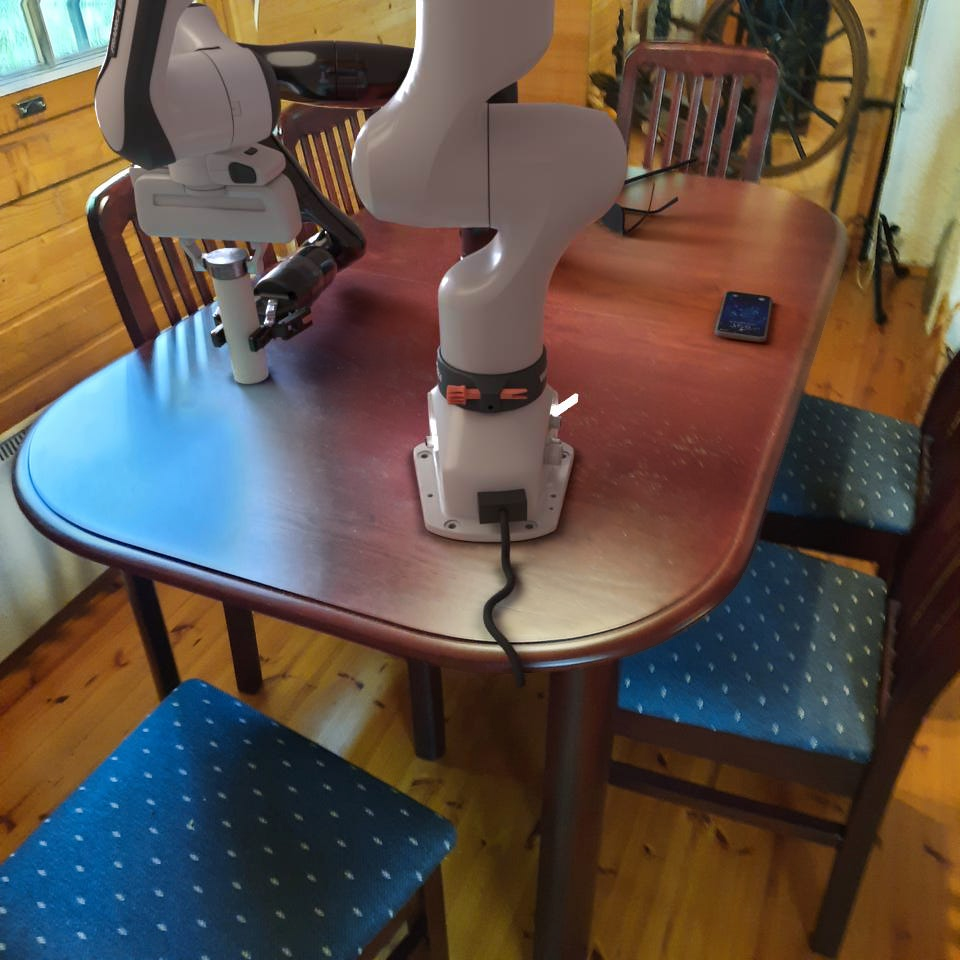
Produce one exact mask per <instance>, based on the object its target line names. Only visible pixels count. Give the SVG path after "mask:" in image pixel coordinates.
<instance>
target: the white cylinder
mask: <svg viewBox="0 0 960 960" xmlns="http://www.w3.org/2000/svg"><path fill="white" fill-rule="evenodd" d="M251 278H252V277H251V274H248V273H247V274H246V275H244V276H241V277H238V278H233V279H216V278H213V277H211V279H212V284H213V288H214V289H213V290H214V293H215V297H216V302H217V307H219V311H220V316H221V320H222V325H223V329H224V334H225V338H226V343H225V344H226V346H227V351H228V356H229V360H230V365H231V369H232V374H233V377H234V381H236V382H237V383H239V384H243V385H253V384H258V383H260V382H262V381H265V380H266V379H267V378H268V377H269V375H270V371H269V370H270V369H269V367H268V361H267V355H266V349H265V347H264V348H262V349H260V350H259V351H258V352H251V351H250V347H249V342H248V338H249V336H250V335H251V334H252V333H253V332H254V331H255V330H256V329H258V328H259V327H260V324H259V319H258V314H257V309H256V303H255V298H254V293H253V291H254V288H253V283H252V279H251Z"/></svg>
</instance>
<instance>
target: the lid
mask: <svg viewBox="0 0 960 960" xmlns="http://www.w3.org/2000/svg"><path fill="white" fill-rule="evenodd" d="M207 254H208V255H207V256H206V258H205V259H206V266H207V270H208V271H207V273H208V276H209V277H211V278H212V277H213V278H216V279H233V278H238V277H241V276H244V275H246V274H247V273H248V271H247V270H248V268H247V266H246V261H247V260H249V258H250V255H249V252H248V251H247V250H246V249H243V248H241V247H225V248H219V249H216V250H213V251H211V252H209V253H207Z"/></svg>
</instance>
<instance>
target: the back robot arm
mask: <svg viewBox="0 0 960 960" xmlns="http://www.w3.org/2000/svg"><path fill="white" fill-rule="evenodd" d="M234 42H235V43H236V44H238V45H239V46H241V47H243V48H249V49H251V50H253V51H254V52H256V53H257V54H258V55H260V56H261V57H262V58H263V59H264V60H265V61H266V62H267V63H268V64H269V65H270V66H271V67H272V69H273V70H274V73H275V75H276V78H277V82H278V86H279V91H280V98H281V101H284V102H289V103H293V104H299V105H306V106H312V107H320V108H329V109H349V110H350V109H351V110H370V109H378V108H382V107H383V106H384V105H385V104H386V103H387V102H389V101H390V99H391V98H392V97H393V96H394V95H395V93H396V92H397V91H398V89H399V88H400V86H401V85H402V83H403V81H404V79H405V77H406V75H407V73H408V71H409V68H410V65H411V62H412V59H413V54H414V49H415V47H408V46H403V45H395V44H387V43H378V42H377V43H376V42H365V41H356V40H354V41H353V40H332V39H331V40H329V39H323V40H322V39H321V40H303V41H294V42H287V43H278V44H253V43H246V42H239V41H234ZM485 103H488V148H489V104H503V103H519V84H518V81H516V82H514V83H512V84H511V85H509V86H507V87H505V88H503V89H501V90H500V91H498V92H497V93H495V94H494V95H492V96H491V97H490V98H489V99H488V100H487V101H486V102H485ZM257 143H258V144H261V145H263V146H266V147H269V148H272V149H275V150H277V151H279V152H281V153H282V154H283V155H284V157H285V162H286V166H285V168H284V170H283V171H282V172H281V173H282V174H284V175H285V176H287V177H288V178H289V180H290V181H291V183H292V185H293V187H294V190H295V194H296V197H297V201H298V205H299V210H300V215H301V221H302V225H306V224H309V223H310V224H311V223H312V224H314V225H316V226H318V227H319V228H321V230H319V231H317V232H316V233H314V234H313V235H312V236H310V237H309V238H308V239H306V240H305V241H304V242H303V243H302V244H301V245H300V247H299V248H298V250H297V251H296V252H294V253H293V254H292V255H291V256H289V258H287V259H285V260H283V261H282V262H280V263H279V264H278V265H276V266H275V267H274V268H273V269H271V270H270V271H269V272H268V273H267V274H266V275H265V276H264V277H262V278H261V279H260V280H259V281H258V282H257V283H256V285H255V286H254V288H253V293H254V298H255V303H256V309H257V314H258V319H259V324H260V327H259V328H258V329H256V330H255V331H254V332H253V333H252V334H251V335H250V336H249V338H248V342H249V347H250V351H251V352H258V351H259V350H260V349H262V348H264V349H265V347H266V346H267V345H268V344H269V343H270V342H274V341H276V340H277V338H281V340H282V341H289V340H291V339H293V338H294V337H296V336H297V335H299V334H301V333H302V332H304V331H305V330H307V329H308V328H311V327H312V326H313V325H314V321H313V315H312V314H313V313H312V307H313V306H314V305H316V303H317V302H318V300H319V299H320V297H321V296H322V294H323V293H325V292H326V290H328V289H329V287H330V286H331V285H332V284H333V283H334V281H335V279H336V277H337V275H338V274H339V273H342V271H344V270H346V269H347V268H349V267H351V266H353V265H354V264H356V263H358V262H359V261H360V260H362V259H363V258H364V257H365V256H366V254H367V251H368V240H367V237H366V234H365V232H364V230H363V229H362V227H361V226H360V225H359V223H357V222H356V221H355V220H354V219H353V218H352V217H351V216H350V215H348V214H347V213H346V212H344V210H342V209H341V208H339V206H337V205H336V204H335V203H334V202H333V201H331V200H330V199H329V198H328V197H327V196H325V194H324V193H322V192H321V191H320V189H319V188H318V186H317V185H316V184H315V183H314V181H313V180H312V179H311V177H310V175H309V174H308V173H307V172H306V171H305V169H304V168H303V167H302V165H301V164H300V162H299V161H298V160H297V159H296V157H295V156H294V155H293V154H292V153H291V152H290V150H289V149H288V148H287V147H286V146H285V144H284V143H283V142H282V141H281V140H280V139H279V138H278V137H277V135H276V134H275V133H274V132H273V133H272V134H271V136H270V137H269V138H266V139H263V140H261V141H259V142H257ZM695 162H698V157H697V156H696V157H692V158H689V159H686V160H684V161H681V162H678V163H674V164H672V165H669V166H665V167H662V168H659V169H656V170H653V171H649V172H646V173H643V174H639V175H637V176H634V177H631V178H627V179H625V181H624V185H623V186H626V185H628V184H631V183H634V182H637V181H640V180H644V179H647V178H650V177H653V176H656V175H659V174H662V173H665V172H669V171H672V170H675V169H678V168H681V167H684V166H687V165H690V164H692V163H695ZM458 231H459V239H460V260H461V259H463V258H465V257H467V256H468V255H470V254H472V253H474V252H476V251H478V250H480V249H482V248H483V247H485V246H486V245H487V244H489V243H490V242H491V241H492V240H493V238H494V237H495V236H496V234H497V233H498V230H497V229H494V228H490V181H489V227H472V228H459V230H458ZM212 318H213V323H214V325H215V326H214V327H215V328H214V329H213V330H212V331H210V338H211V342H212V344H213V347H214V348H216V349H217V348H218V349H221V348H222V347H223V346H224V345H225V344H227V343H226V338H225V334H224V329H223V325H222V320H221V316H220V311H219V307H218V306H217V307H216V309H215V311H214V312H213V314H212ZM289 327H290V328H289Z"/></svg>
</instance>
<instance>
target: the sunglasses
mask: <svg viewBox="0 0 960 960" xmlns="http://www.w3.org/2000/svg"><path fill="white" fill-rule="evenodd" d="M655 185H656V183H655V181H653V183H652V189H651V195H650V201H649V206H648V209H647V210H646V209H645V210H643V209H638V208H631V207H625V206H621V205H620V204H619V203H617V202H615V203H614V204H613V206H612V207H611V208H610V209H609V211H608V212H607V213H606V214H605V215H604V216H602V217H601V218H599V219H598V220H597V221H600V222H601V223H602V224H603V225H604V227H606V228H608V229H609V230H611V231H612V232H614V233H616V234H618V235H623V236H624V235H629V234H630V233H632V231H634V230H635V229H636V228H638V227H639V225H641V223H642V222H643V221H644V220H646V218H647V217H648V215H655V214H658V213H661V212H663V211H664V210H666V209H668V208H669V207H671V206H672V205H675V204H676V203H678V201H679V196H676V197H674V198H673V199H671V200H669V201H668V202H667V203H666V204H664V205H662V206H661V207H659V208H658V209H654V210H651V207H652V202H653V196H654V191H655ZM625 212H633V213H639V214H644V215H643V216H642V217H641V218H640V219H639V220H638V221H637V222H635V224H633V225H632V226H630V228H628V229H627V230H626V229H625V228H626V227H625V225H626V213H625Z"/></svg>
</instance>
